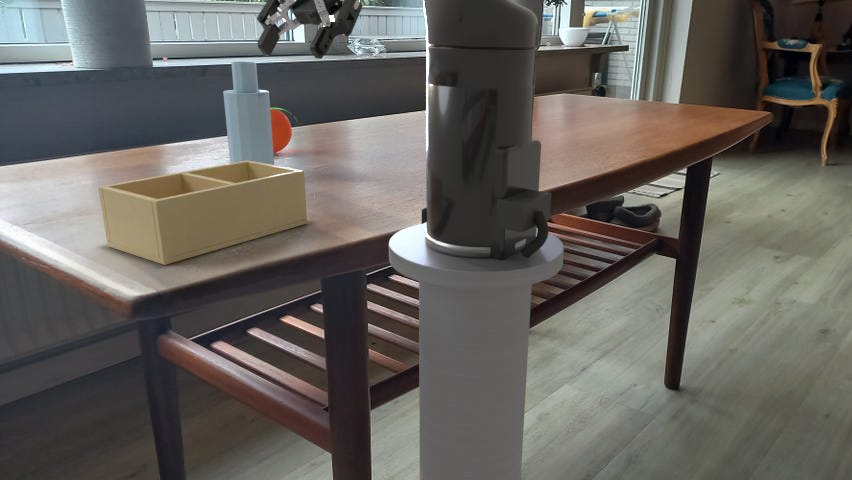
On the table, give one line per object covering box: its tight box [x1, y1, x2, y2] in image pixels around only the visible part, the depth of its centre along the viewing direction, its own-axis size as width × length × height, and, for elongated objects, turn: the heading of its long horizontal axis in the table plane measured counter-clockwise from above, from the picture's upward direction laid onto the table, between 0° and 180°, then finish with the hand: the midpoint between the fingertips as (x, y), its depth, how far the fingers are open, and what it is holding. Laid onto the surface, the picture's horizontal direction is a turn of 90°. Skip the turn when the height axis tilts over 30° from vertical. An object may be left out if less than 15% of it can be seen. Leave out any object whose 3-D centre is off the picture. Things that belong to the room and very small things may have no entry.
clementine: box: [270, 107, 298, 154], centre depth 106 cm, size 8×7×7 cm
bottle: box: [222, 61, 275, 165], centre depth 87 cm, size 5×6×14 cm
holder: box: [97, 160, 308, 266], centre depth 65 cm, size 8×16×6 cm, turn 147°
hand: (288, 52), depth 92 cm, fingers open, 8 cm apart
